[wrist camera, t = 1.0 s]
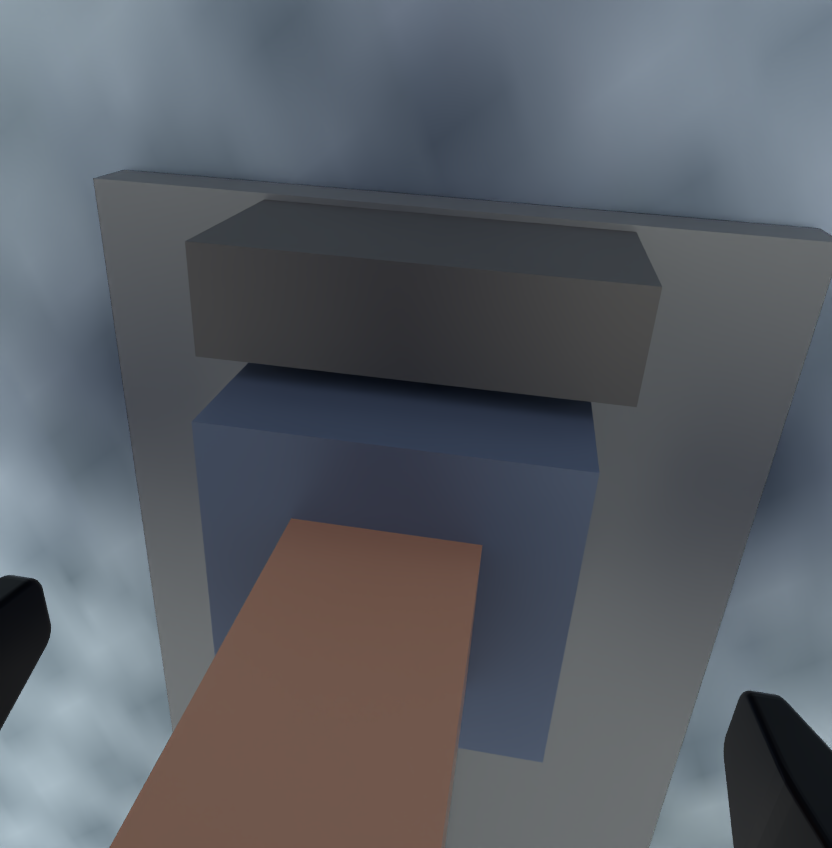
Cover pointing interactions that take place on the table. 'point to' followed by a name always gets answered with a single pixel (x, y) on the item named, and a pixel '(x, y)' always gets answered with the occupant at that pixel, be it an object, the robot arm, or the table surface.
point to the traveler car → (369, 606)
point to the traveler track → (633, 513)
